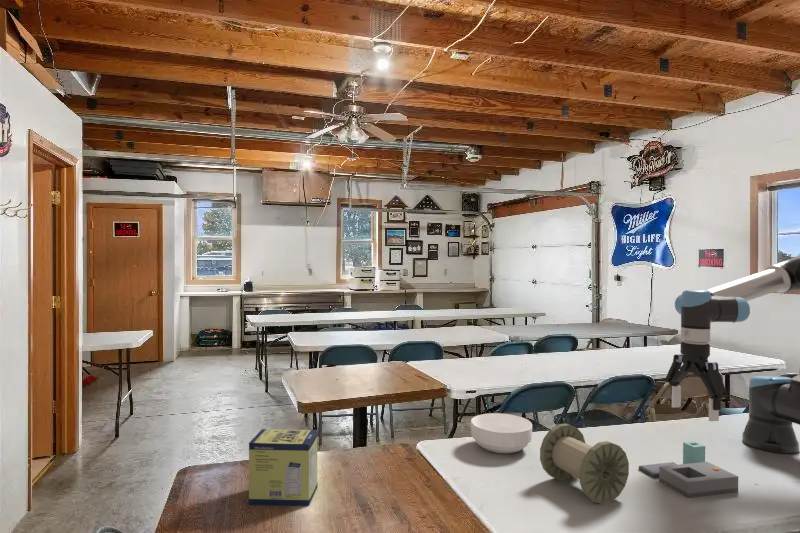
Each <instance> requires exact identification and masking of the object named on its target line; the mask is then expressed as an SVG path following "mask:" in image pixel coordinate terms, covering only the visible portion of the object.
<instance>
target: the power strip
mask: <svg viewBox="0 0 800 533" xmlns="http://www.w3.org/2000/svg"><path fill="white" fill-rule="evenodd" d="M658 478H659V480H658V481H659V482H660V483H661V484H664V485H665V486H667V487H669V488H670V489H673V490H674V491H676V492H678V493H679V494H681V495H683V496H684V497H686V498H698V497H705V496H711V495H720V494H721V495H722V494H728V493H736V492H737V493H738V492H739V476H738V475H736V474H734V473H732V472H730V471H728V470H726V469H723V468H721V467H720V466H716V465H715V464H712V463H710V462H708V461H705V462H699V463H689V464H683V463H681V464H678V465H670V466H661V467H659V477H658Z"/></svg>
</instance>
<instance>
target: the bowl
mask: <svg viewBox="0 0 800 533" xmlns="http://www.w3.org/2000/svg"><path fill="white" fill-rule="evenodd" d="M470 432H471V433H470V434H471V437H472V438H473V439H474V441H475V442H476V443H477V444H478V445H479V446H480V447H481V448H483V449H484V450H486V451H489V452H493V453H497V454H513V453H517V452H520V451H521V450H523V449H525V448H526V447H527V446H528V445H529V444H530V443H531V442H532V438H533V424H532V422H531V421H530V420H529V419H527V418H525V417H522V416H518V415H515V414H508V413H499V412H497V413H496V412H494V413H493V412H492V413H491V412H490V413H483V414H478V415H475V416H473V417H472V418H471V420H470Z"/></svg>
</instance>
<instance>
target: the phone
mask: <svg viewBox="0 0 800 533" xmlns="http://www.w3.org/2000/svg"><path fill="white" fill-rule="evenodd" d="M670 465H679V464H677V463H675V462H664V463H662V462H661V463H654V464H643V465H639V466H638V470H640V471H641V472H643V473H644V474H647V475H649V476H650V477H652V478H653V479H657V478H659V467H661V466H670Z"/></svg>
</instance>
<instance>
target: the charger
mask: <svg viewBox="0 0 800 533" xmlns="http://www.w3.org/2000/svg"><path fill="white" fill-rule="evenodd" d="M699 462H706V446H705V445H704V444H701V443H699V442H697V441H695V440H694V441H692V440H691V441H684V442H682V464H689V463H699Z"/></svg>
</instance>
